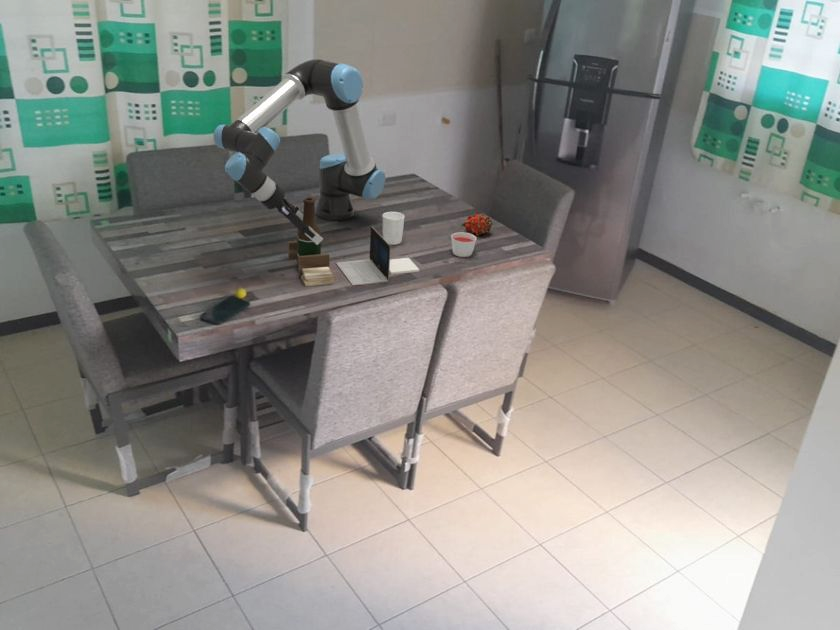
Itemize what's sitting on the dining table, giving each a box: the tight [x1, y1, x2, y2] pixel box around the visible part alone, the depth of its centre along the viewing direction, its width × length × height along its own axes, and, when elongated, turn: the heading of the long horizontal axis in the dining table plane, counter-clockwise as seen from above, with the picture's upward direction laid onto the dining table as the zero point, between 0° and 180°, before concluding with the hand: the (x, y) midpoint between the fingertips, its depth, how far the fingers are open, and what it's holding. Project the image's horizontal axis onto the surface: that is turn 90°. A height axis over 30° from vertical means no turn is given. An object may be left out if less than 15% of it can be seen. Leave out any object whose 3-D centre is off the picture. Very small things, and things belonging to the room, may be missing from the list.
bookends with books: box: [287, 240, 335, 287], centre depth 260 cm, size 23×10×7 cm, turn 22°
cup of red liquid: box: [450, 231, 477, 258], centre depth 281 cm, size 9×9×6 cm
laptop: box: [335, 225, 392, 286], centre depth 260 cm, size 18×12×13 cm
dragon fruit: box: [461, 213, 493, 237], centre depth 299 cm, size 8×8×12 cm
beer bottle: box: [296, 197, 322, 264], centre depth 258 cm, size 8×8×24 cm
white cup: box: [382, 211, 405, 246], centre depth 286 cm, size 8×8×10 cm
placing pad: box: [389, 257, 420, 275], centre depth 268 cm, size 10×10×1 cm
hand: (314, 233), depth 259 cm, fingers open, 13 cm apart
